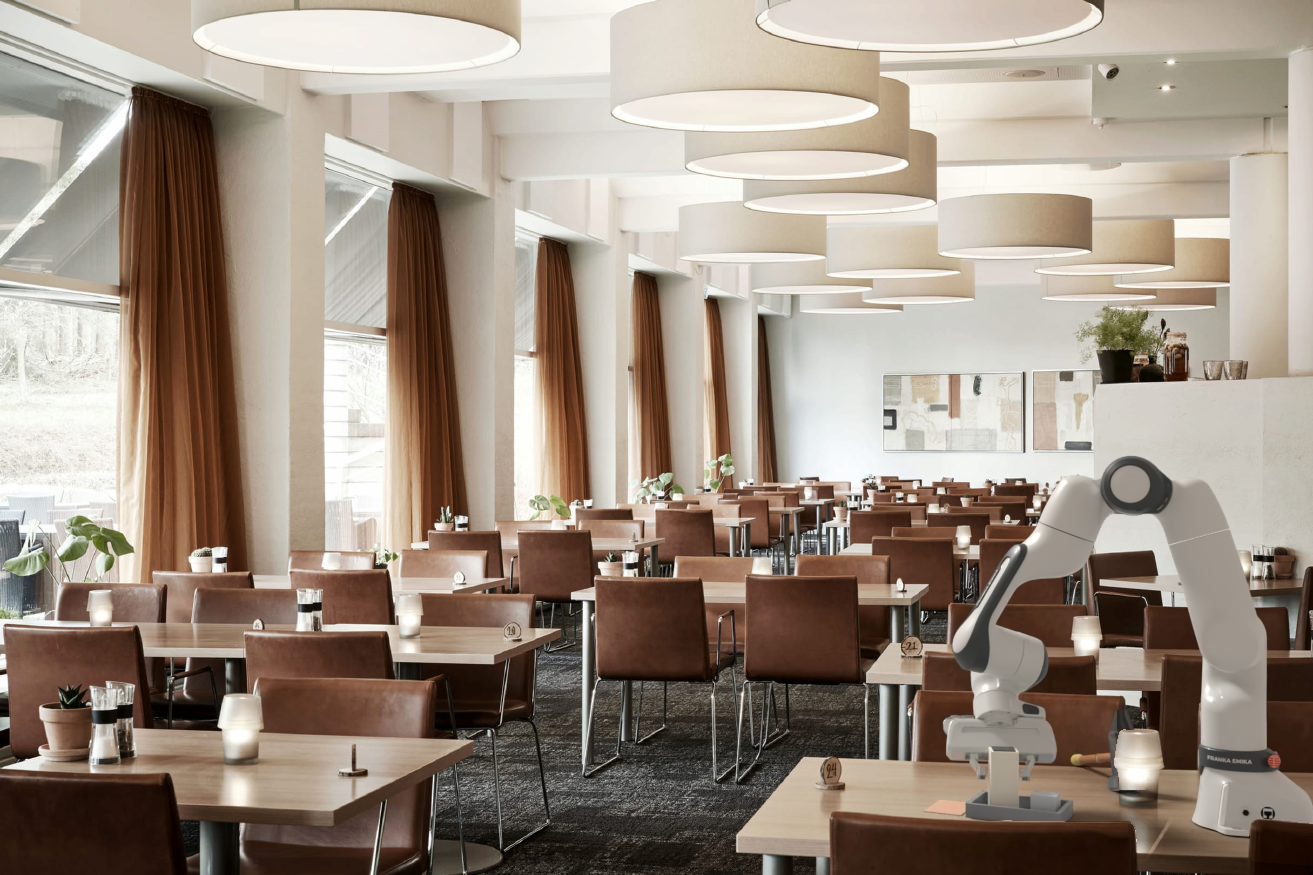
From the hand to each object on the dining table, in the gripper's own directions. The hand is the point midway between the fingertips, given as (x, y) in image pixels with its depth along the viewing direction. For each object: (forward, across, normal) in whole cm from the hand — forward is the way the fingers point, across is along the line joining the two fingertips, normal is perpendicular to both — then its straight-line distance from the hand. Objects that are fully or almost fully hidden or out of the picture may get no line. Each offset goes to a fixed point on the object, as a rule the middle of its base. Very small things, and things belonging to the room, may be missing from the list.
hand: (1003, 778), depth 259 cm
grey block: (+6, +7, +3) cm, 10 cm away
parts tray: (+5, +3, +5) cm, 8 cm away
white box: (+4, 0, +5) cm, 7 cm away
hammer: (-22, +25, +32) cm, 46 cm away
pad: (+2, -9, +8) cm, 12 cm away
